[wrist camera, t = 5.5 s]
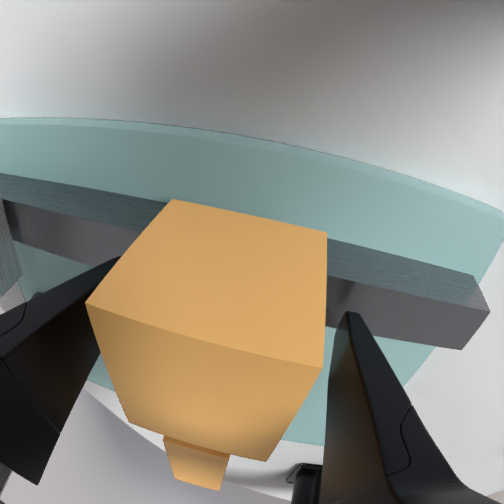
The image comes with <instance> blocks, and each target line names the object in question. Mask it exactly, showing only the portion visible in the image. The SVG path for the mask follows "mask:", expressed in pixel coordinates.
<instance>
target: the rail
mask: <svg viewBox="0 0 504 504" xmlns="http://www.w3.org/2000/svg"><path fill="white" fill-rule="evenodd" d="M0 192H1V197H2V201H3V206H4V210H5V214H6V218H7V222H8V225H9V229H10V233H11V236H12V240H14V241H17V242H20V243H23V244H26V245H29V246H31V247H34V248H37V249H40V250H43V251H46V252H49V253H52V254H55V255H58V256H61V257H64V258H67V259H70V260H74V261H77V262H80V263H83V264H86V265H89V266H93V267H96V266H98V265H100V264H102V263H104V262H106V261H109V260H111V259H113V258H115V257H117V256H123V254H124V253H125V252H126V251H127V250H128V248H129V247H130V246H131V245H132V244H133V242H134V241H135V240H136V239H137V238H138V237H139V235H140V234H141V233H142V232H143V231H144V230H145V229H146V227H147V226H148V225H149V224H150V223H151V222H152V221H153V219H154V218H155V217H156V216H157V215H158V214H159V213H160V212H161V211H162V209H163V208H164V207H165V206H166V205H167V204H168V203H165V202H160V201H155V200H150V199H145V198H140V197H135V196H130V195H124V194H119V193H114V192H108V191H103V190H98V189H92V188H87V187H81V186H75V185H70V184H64V183H58V182H52V181H47V180H41V179H35V178H28V177H22V176H16V175H10V174H3V173H0ZM346 311H351V312H356V313H359V314H360V315H361V317H362V319H363V320H364V322H365V323H366V325H367V327H368V328H369V330H370V332H371V333H372V335H373V336H378V337H383V338H389V339H395V340H400V341H406V342H412V343H418V344H424V345H431V346H437V347H444V348H450V349H457V350H462V349H463V348H464V346H465V345H466V344H467V343H468V341H469V340H470V339H471V337H472V336H473V335H474V334H475V332H476V331H477V330H478V328H479V327H480V326H481V324H482V323H483V321H484V320H485V319H486V317H487V316H488V314H489V313H490V310H489V307H488V305H487V303H486V301H485V298H484V296H483V294H482V292H481V290H480V288H479V286H478V284H477V282H476V280H475V278H474V276H473V275H470V274H467V273H463V272H459V271H456V270H452V269H448V268H445V267H441V266H437V265H433V264H430V263H426V262H422V261H418V260H414V259H410V258H407V257H403V256H399V255H395V254H391V253H387V252H383V251H379V250H375V249H371V248H367V247H363V246H359V245H355V244H351V243H346V242H342V241H338V240H334V239H330V238H327V285H326V317H325V326H326V327H331V328H336V329H337V327H338V325H339V323H340V321H341V318H342V316H343V314H344V313H345V312H346Z"/></svg>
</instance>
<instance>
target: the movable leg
mask: <svg viewBox="0 0 504 504" xmlns="http://www.w3.org/2000/svg"><path fill="white" fill-rule="evenodd" d="M326 285H327V232H323V231H319V230H315V229H310V228H306V227H302V226H297V225H293V224H289V223H284V222H280V221H275V220H271V219H266V218H262V217H257V216H253V215H248V214H244V213H239V212H234V211H230V210H225V209H220V208H215V207H210V206H206V205H201V204H196V203H191V202H186V201H181V200H176V199H172V200H171V201H170V202H169V203H168V204H167V205H166V206H165V207H164V208H163V209H162V211H161V212H160V213H159V214H158V215H157V216H156V217H155V218H154V219H153V221H152V222H151V223H150V224H149V225H148V226H147V227H146V229H145V230H144V231H143V232H142V233H141V234H140V235H139V237H138V238H137V239H136V240H135V241H134V242H133V244H132V245H131V246H130V247H129V248H128V250H127V251H126V252H125V253H124V254H123V256H122V257H121V258H120V259H119V260H118V262H117V263H116V264H115V265H114V266H113V268H112V269H111V270H110V271H109V273H108V274H107V275H106V276H105V278H104V279H103V280H102V281H101V283H100V284H99V285H98V286H97V288H96V289H95V290H94V292H93V293H92V294H91V295H90V297H89V298H88V299H87V301H86V302H85V305H86V308H87V311H88V315H89V318H90V321H91V325H92V328H93V331H94V334H95V337H96V340H97V343H98V346H99V349H100V352H101V354H102V357H103V360H104V363H105V365H106V368H107V371H108V373H109V376H110V379H111V381H112V384H113V386H114V389H115V391H116V394H117V396H118V398H119V401H120V403H121V405H122V408H123V410H124V412H125V415H126V417H127V419H128V421H129V423H132V424H134V425H137V426H140V427H142V428H145V429H148V430H151V431H153V432H156V433H159V434H162V435H164V438H163V442H164V446H165V449H166V452H167V456H168V459H169V462H170V465H171V468H172V471H173V474H174V477H175V479H178V480H181V481H184V482H187V483H191V484H194V485H198V486H201V487H205V488H209V489H213V490H217V491H219V490H220V487H221V484H222V481H223V477H224V474H225V471H226V467H227V464H228V461H229V457H230V454H231V455H236V456H240V457H245V458H249V459H254V460H259V461H264V462H266V461H267V460H268V458H269V457H270V455H271V453H272V452H273V450H274V449H275V447H276V446H277V444H278V443H279V441H280V440H281V438H282V436H283V435H284V433H285V432H286V430H287V429H288V427H289V425H290V424H291V422H292V420H293V419H294V417H295V415H296V414H297V412H298V410H299V409H300V407H301V405H302V404H303V402H304V400H305V399H306V397H307V395H308V393H309V392H310V390H311V388H312V386H313V385H314V383H315V381H316V379H317V377H318V376H319V374H320V372H321V370H322V368H323V357H324V339H325V317H326Z"/></svg>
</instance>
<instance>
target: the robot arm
mask: <svg viewBox="0 0 504 504" xmlns="http://www.w3.org/2000/svg"><path fill="white" fill-rule="evenodd" d="M121 257H122V256H117V257H115V258H113V259H111V260H109V261H106V262H104V263H102V264H100V265H98V266H96V267H94V268H92V269H90V270H88V271H86V272H84V273H82V274H80V275H78V276H76V277H74V278H72V279H70V280H68V281H66V282H64V283H62V284H60V285H58V286H56V287H54V288H52V289H50V290H48V291H46V292H44V293H42V294H40V295H38V296H36V297H34V298H32V299H30V300H29V301H28V302H25V303H23V304H21V305H19V306H17V307H15V308H13V309H11V310H9V311H7V312H5V313H3V314H1V315H0V496H1V494H2V492H3V490H4V487H5V486H6V484H7V481H8V479H9V477H10V475H11V473H12V471H14V472H15V473H17V474H18V475H20V476H22V477H23V478H25V479H27V480H29V481H30V482H32V483H33V484H35V485H38V484H39V482H40V479H41V477H42V475H43V472H44V470H45V467H46V465H47V463H48V460H49V458H50V456H51V453H52V451H53V449H54V447H55V444H56V442H57V440H58V438H59V436H60V432H61V431H62V429H63V427H64V425H65V422H66V420H67V418H68V416H69V414H70V412H71V410H72V408H73V406H74V404H75V401H76V399H77V398H78V396H79V394H80V392H81V390H82V388H83V386H84V384H85V382H86V380H87V378H88V376H89V374H90V372H91V370H92V368H93V367H94V365H95V363H96V361H97V359H98V357H99V355H100V353H101V352H100V349H99V346H98V343H97V340H96V337H95V334H94V331H93V328H92V325H91V321H90V318H89V315H88V311H87V308H86V305H85V302H86V301H87V299H88V298H89V297H90V295H91V294H92V293H93V292H94V290H95V289H96V288H97V286H98V285H99V284H100V283H101V281H102V280H103V279H104V278H105V276H106V275H107V274H108V273H109V271H110V270H111V269H112V268H113V266H114V265H115V264H116V263H117V262H118V260H119V259H120V258H121ZM411 404H412V403H411V401H410V400H409V398H408V396H407V394H406V392H405V391H404V389H403V387H402V385H401V383H400V382H399V380H398V378H397V376H396V375H395V373H394V371H393V369H392V368H391V366H390V364H389V362H388V361H387V359H386V357H385V355H384V354H383V352H382V350H381V349H380V347H379V345H378V344H377V342H376V340H375V338H374V337H373V335H372V333H371V332H370V330H369V328H368V327H367V325H366V323H365V322H364V320H363V319H362V317H361V315H360V314H359V313H356V312H351V311H346V312H345V313H344V314H343V316H342V318H341V321H340V323H339V325H338V327H337V329H336V332H335V336H334V343H333V350H332V357H331V364H330V371H329V378H328V388H327V411H326V429H325V444H324V457H323V467H321V466H312V465H300V466H299V467H298V468H297V469H296V470H295V471H294V472H293V473H292V474H291V475H290V476H289V477H288V478H287V479H286V482H287V483H291V484H294V488H293V494H292V500H291V504H501V503H499V502H497V501H495V500H492V499H490V498H488V497H486V496H484V495H482V494H480V493H478V492H476V491H474V490H472V489H470V488H468V487H467V486H466V485H464V484H463V483H462V482H461V481H460V480H459V478H458V477H457V476H456V474H455V473H454V471H453V470H452V468H451V467H450V465H449V464H448V462H447V461H446V459H445V458H444V456H443V455H442V453H441V452H440V450H439V449H438V447H437V446H436V444H435V442H434V441H433V439H432V438H431V436H430V435H429V433H428V431H427V430H426V428H425V426H424V425H423V423H422V421H421V419H420V418H419V416H418V414H417V412H416V410H415V408H414V407H413V406H411ZM0 504H5V503H4V502H2V501H1V500H0Z"/></svg>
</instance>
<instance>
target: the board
mask: <svg viewBox="0 0 504 504" xmlns="http://www.w3.org/2000/svg"><path fill="white" fill-rule="evenodd" d="M0 173H3V174H10V175H16V176H22V177H28V178H35V179H41V180H47V181H52V182H58V183H64V184H70V185H75V186H81V187H87V188H92V189H98V190H103V191H108V192H114V193H119V194H124V195H130V196H135V197H140V198H145V199H150V200H155V201H160V202H165V203H169V202H170V201H171V200H172V199H176V200H181V201H186V202H191V203H196V204H201V205H206V206H210V207H215V208H220V209H225V210H230V211H234V212H239V213H244V214H248V215H253V216H257V217H262V218H266V219H271V220H275V221H280V222H284V223H289V224H293V225H297V226H302V227H306V228H310V229H315V230H319V231H323V232H327V238H330V239H334V240H338V241H342V242H346V243H351V244H355V245H359V246H363V247H367V248H371V249H375V250H379V251H383V252H387V253H391V254H395V255H399V256H403V257H407V258H410V259H414V260H418V261H422V262H426V263H430V264H433V265H437V266H441V267H445V268H448V269H452V270H456V271H459V272H463V273H467V274H470V275H473V276H474V278H475V280H476V282H477V284H479V283H480V281H481V280H482V278H483V276H484V274H485V273H486V271H487V269H488V268H489V266H490V264H491V262H492V261H493V259H494V257H495V255H496V253H497V251H498V250H499V248H500V246H501V244H502V242H503V240H504V213H503V212H502V211H501V210H499V209H496V208H494V207H492V206H489V205H487V204H484V203H482V202H479V201H477V200H474V199H472V198H469V197H466V196H464V195H461V194H458V193H456V192H453V191H450V190H447V189H444V188H442V187H439V186H436V185H433V184H430V183H427V182H424V181H421V180H418V179H415V178H412V177H409V176H406V175H402V174H399V173H396V172H393V171H389V170H386V169H383V168H379V167H376V166H372V165H369V164H365V163H361V162H358V161H354V160H350V159H346V158H343V157H339V156H335V155H331V154H327V153H323V152H318V151H314V150H310V149H305V148H301V147H296V146H292V145H287V144H282V143H277V142H272V141H267V140H262V139H257V138H251V137H246V136H240V135H234V134H228V133H222V132H215V131H209V130H202V129H195V128H187V127H179V126H171V125H162V124H152V123H142V122H131V121H117V120H102V119H80V118H6V119H0ZM13 243H14V246H15V249H16V253H17V256H18V259H19V262H20V265H21V268H22V271H23V275H22V276H21V277H20V278H19V279H18V280H17V281H18V284H19V286H20V289H21V291H22V294H23V296H24V299H25V301H26V302H28V301H29V300H30V299H32V298H34V297H36V296H38V295H40V294H42V293H44V292H46V291H48V290H50V289H52V288H54V287H56V286H58V285H60V284H62V283H64V282H66V281H68V280H70V279H72V278H74V277H76V276H78V275H80V274H82V273H84V272H86V271H88V270H90V269H92V268H94V267H93V266H89V265H86V264H83V263H80V262H77V261H74V260H70V259H67V258H64V257H61V256H58V255H55V254H52V253H49V252H46V251H43V250H40V249H37V248H34V247H31V246H29V245H26V244H23V243H20V242H17V241H14V240H13ZM335 332H336V328H331V327H326V326H325V339H324V357H323V368H322V370H321V372H320V374H319V376H318V377H317V379H316V381H315V383H314V385H313V386H312V388H311V390H310V392H309V393H308V395H307V397H306V399H305V400H304V402H303V404H302V405H301V407H300V409H299V410H298V412H297V414H296V415H295V417H294V419H293V420H292V422H291V424H290V425H289V427H288V429H287V430H286V432H285V433H284V435H283V436H282V438H281V440H287V441H293V442H299V443H305V444H312V445H319V446H324V444H325V429H326V411H327V388H328V378H329V371H330V364H331V357H332V350H333V343H334V336H335ZM373 337H374V338H375V340H376V342H377V344H378V345H379V347H380V349H381V350H382V352H383V354H384V355H385V357H386V359H387V361H388V362H389V364H390V366H391V368H392V369H393V371H394V373H395V375H396V376H397V378H398V380H399V382H400V383H401V385H402V387H403V386H404V385H405V384H406V383H407V382H408V381H409V379H410V378H411V377H412V376H413V375H414V373H415V372H416V371H417V370H418V369H419V367H420V366H421V365H422V364H423V362H424V361H425V360H426V359H427V357H428V356H429V355H430V354H431V352H432V351H433V350H434V348H435V347H436V346H431V345H424V344H418V343H412V342H406V341H400V340H395V339H389V338H383V337H378V336H373ZM87 380H89V381H92V382H94V383H96V384H98V385H101V386H103V387H105V388H108V389H110V390H113V391H115V389H114V386H113V384H112V381H111V379H110V376H109V373H108V371H107V368H106V365H105V363H104V360H103V357H102V354H101V353H100V355H99V357H98V359H97V361H96V363H95V365H94V367H93V368H92V370H91V372H90V374H89V376H88V378H87ZM115 392H116V391H115Z"/></svg>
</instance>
